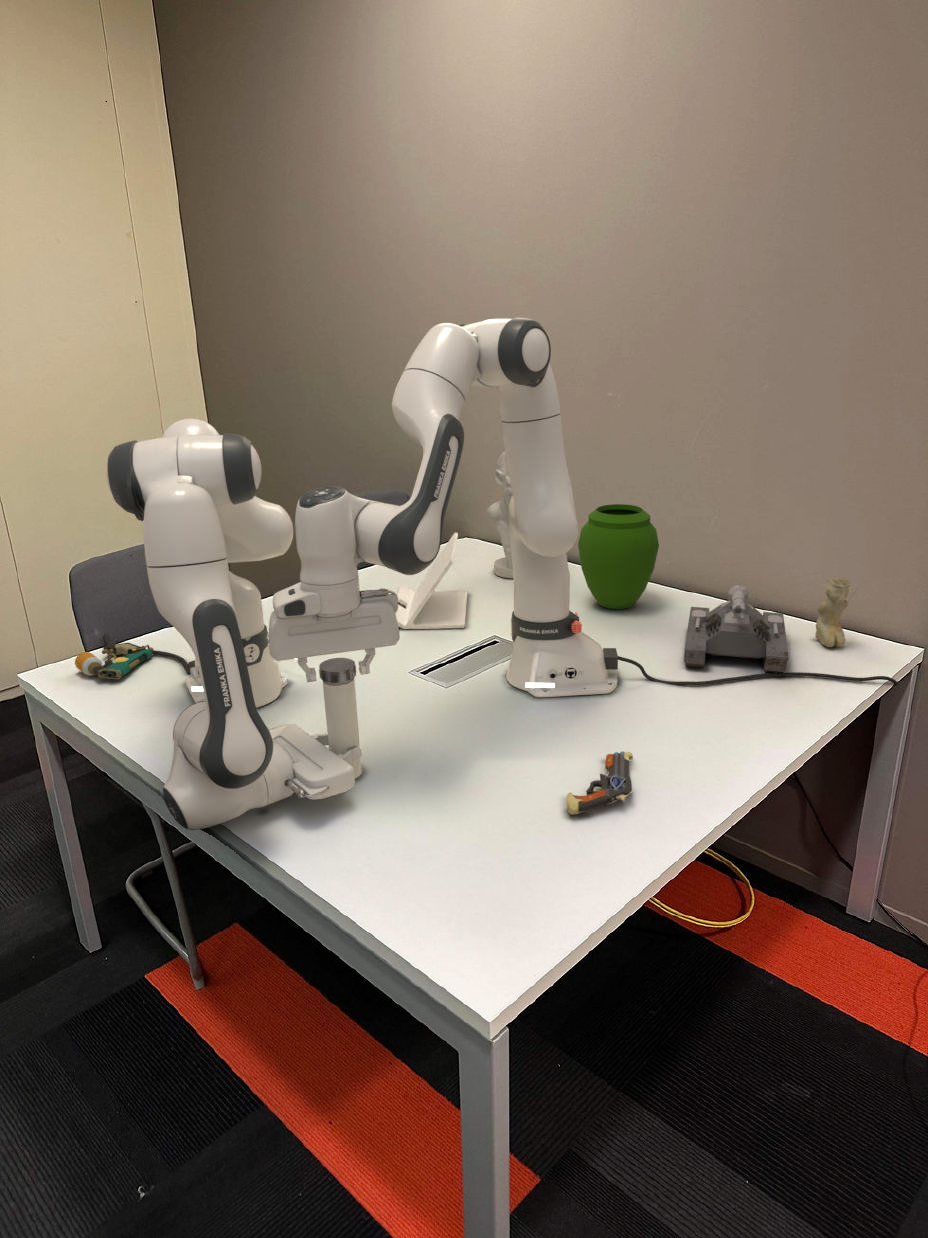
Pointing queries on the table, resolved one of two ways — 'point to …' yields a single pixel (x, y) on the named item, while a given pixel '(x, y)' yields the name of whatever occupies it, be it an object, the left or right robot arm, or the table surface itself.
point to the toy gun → (605, 785)
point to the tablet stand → (433, 598)
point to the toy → (737, 633)
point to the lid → (337, 670)
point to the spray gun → (113, 660)
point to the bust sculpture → (502, 518)
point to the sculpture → (832, 613)
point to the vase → (618, 554)
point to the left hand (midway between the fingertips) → (348, 743)
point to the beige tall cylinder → (342, 719)
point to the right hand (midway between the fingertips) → (338, 676)
